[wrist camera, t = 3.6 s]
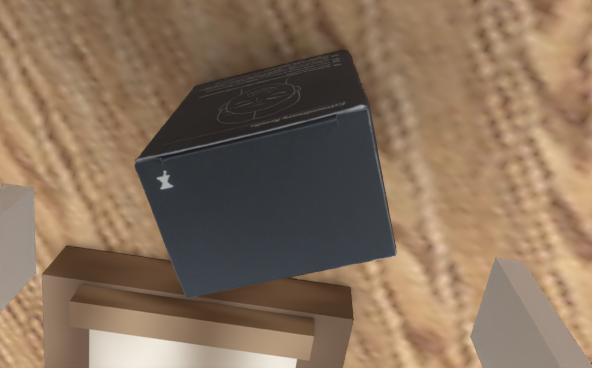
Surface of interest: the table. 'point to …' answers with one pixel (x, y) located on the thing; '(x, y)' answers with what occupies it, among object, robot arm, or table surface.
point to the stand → (185, 318)
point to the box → (269, 177)
